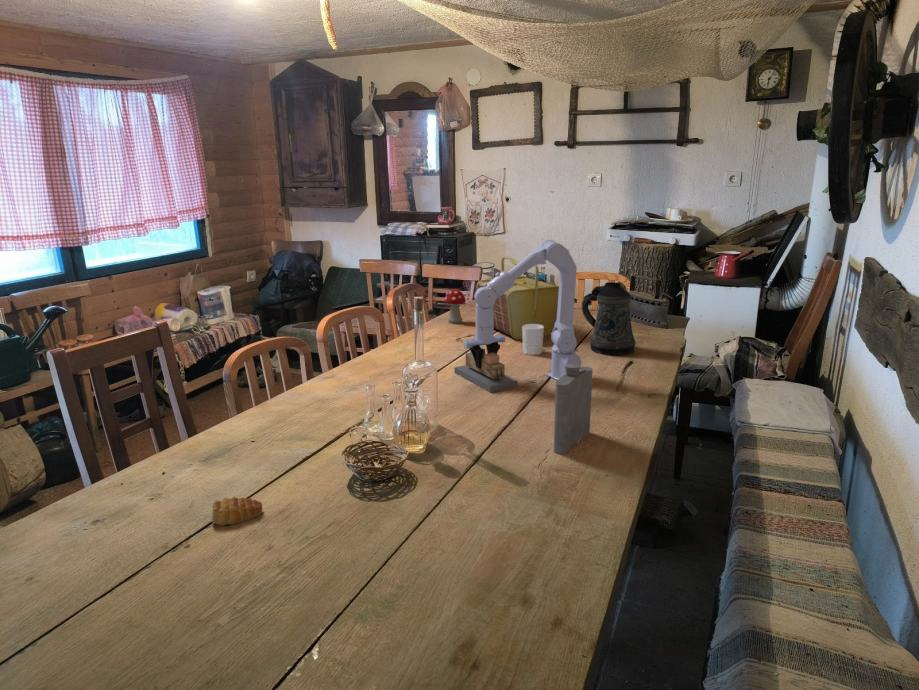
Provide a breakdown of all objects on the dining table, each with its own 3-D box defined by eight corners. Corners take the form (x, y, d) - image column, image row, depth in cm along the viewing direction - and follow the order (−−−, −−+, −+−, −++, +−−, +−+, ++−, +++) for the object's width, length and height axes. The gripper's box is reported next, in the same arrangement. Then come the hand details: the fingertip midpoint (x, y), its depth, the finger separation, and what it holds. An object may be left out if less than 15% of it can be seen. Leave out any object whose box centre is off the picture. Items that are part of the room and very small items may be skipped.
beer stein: (639, 355, 221) (644, 287, 214) (585, 356, 222) (588, 288, 215) (628, 343, 237) (632, 279, 230) (578, 343, 237) (580, 279, 231)
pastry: (262, 504, 126) (260, 487, 125) (262, 521, 120) (260, 504, 119) (214, 512, 124) (211, 495, 123) (211, 530, 118) (209, 512, 116)
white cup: (542, 349, 230) (543, 324, 227) (543, 356, 223) (544, 329, 220) (521, 349, 231) (522, 323, 228) (521, 355, 223) (522, 329, 221)
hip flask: (563, 455, 145) (566, 375, 140) (548, 451, 148) (550, 372, 142) (591, 432, 158) (595, 358, 152) (577, 429, 160) (580, 355, 155)
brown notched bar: (504, 376, 192) (504, 364, 191) (493, 379, 190) (493, 366, 189) (476, 363, 206) (476, 351, 205) (465, 365, 204) (465, 353, 203)
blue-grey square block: (485, 356, 200) (485, 348, 199) (475, 357, 198) (475, 350, 197) (479, 353, 203) (479, 346, 202) (470, 355, 201) (470, 347, 200)
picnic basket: (475, 326, 265) (474, 257, 257) (526, 320, 276) (527, 253, 267) (508, 343, 240) (508, 266, 232) (563, 335, 250) (566, 261, 242)
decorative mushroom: (469, 321, 274) (469, 288, 270) (459, 325, 267) (459, 292, 263) (451, 319, 279) (450, 286, 275) (440, 323, 272) (439, 289, 268)
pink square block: (499, 362, 193) (499, 355, 192) (489, 364, 191) (489, 356, 190) (493, 359, 196) (493, 352, 195) (483, 361, 194) (483, 354, 193)
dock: (517, 386, 192) (517, 380, 191) (490, 392, 187) (490, 385, 186) (479, 367, 210) (479, 362, 210) (454, 372, 205) (454, 366, 205)
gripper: (496, 320, 200) (496, 359, 204) (458, 326, 194) (459, 366, 197) (509, 324, 195) (508, 365, 198) (469, 330, 188) (470, 372, 191)
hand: (484, 366), depth 197 cm, fingers closed on brown notched bar, 4 cm apart
